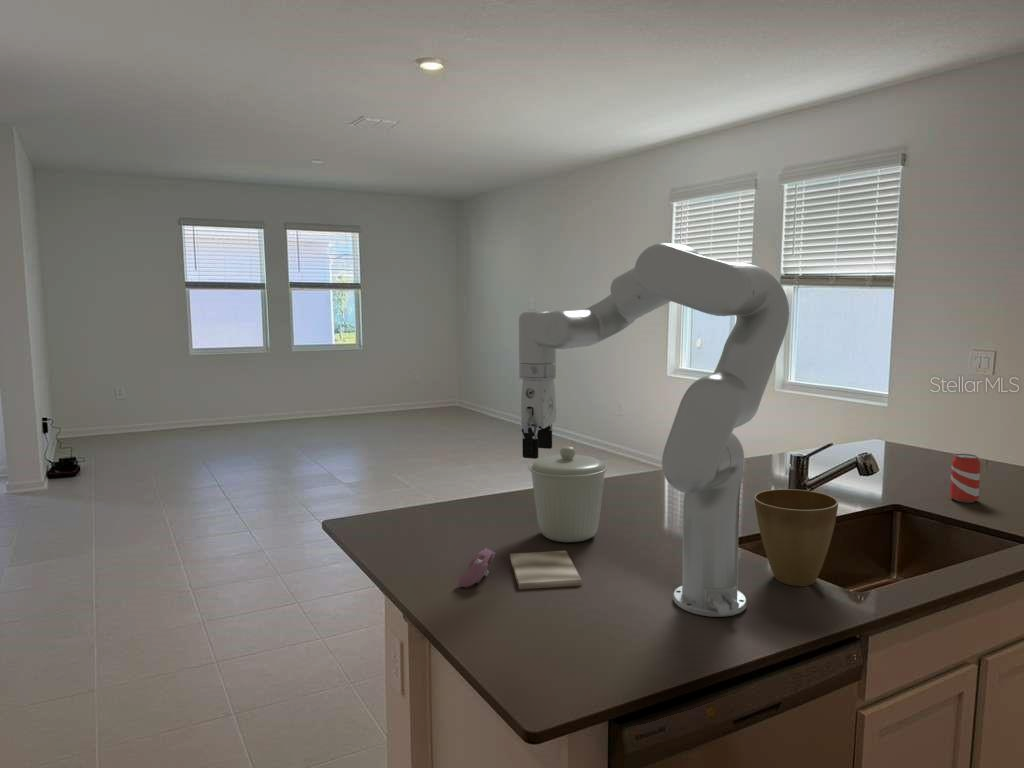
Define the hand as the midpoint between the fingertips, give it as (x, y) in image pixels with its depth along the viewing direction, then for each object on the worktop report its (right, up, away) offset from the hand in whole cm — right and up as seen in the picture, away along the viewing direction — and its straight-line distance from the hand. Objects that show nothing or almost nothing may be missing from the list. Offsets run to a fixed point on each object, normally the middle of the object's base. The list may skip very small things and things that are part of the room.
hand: (537, 452), depth 147 cm
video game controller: (-12, -24, -8) cm, 28 cm away
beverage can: (+114, -17, +39) cm, 121 cm away
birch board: (+1, -24, -5) cm, 24 cm away
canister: (+8, -21, +17) cm, 28 cm away
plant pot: (+49, -24, -11) cm, 55 cm away
